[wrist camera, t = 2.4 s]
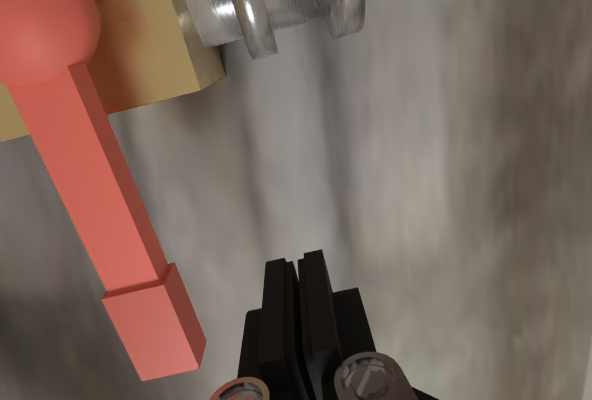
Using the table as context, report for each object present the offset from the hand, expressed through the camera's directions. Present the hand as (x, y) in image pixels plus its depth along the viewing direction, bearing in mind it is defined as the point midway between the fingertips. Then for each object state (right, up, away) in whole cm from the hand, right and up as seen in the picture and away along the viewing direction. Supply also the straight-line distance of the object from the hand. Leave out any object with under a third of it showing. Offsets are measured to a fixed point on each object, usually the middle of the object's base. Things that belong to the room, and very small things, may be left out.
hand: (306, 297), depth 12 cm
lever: (-7, +4, +3) cm, 9 cm away
